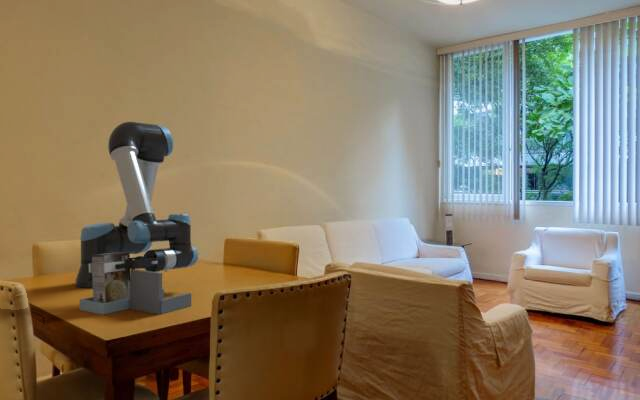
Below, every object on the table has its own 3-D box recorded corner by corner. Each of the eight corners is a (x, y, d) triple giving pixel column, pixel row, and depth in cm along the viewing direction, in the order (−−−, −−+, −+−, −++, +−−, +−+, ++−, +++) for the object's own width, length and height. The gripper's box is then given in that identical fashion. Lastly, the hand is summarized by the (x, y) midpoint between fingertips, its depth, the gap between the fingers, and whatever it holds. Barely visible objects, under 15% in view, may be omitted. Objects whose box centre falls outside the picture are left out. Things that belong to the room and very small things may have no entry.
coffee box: (119, 301, 149) (117, 251, 150) (132, 303, 146) (130, 251, 146) (92, 307, 141) (90, 254, 142) (105, 309, 138) (104, 254, 138)
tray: (79, 309, 141) (79, 299, 141) (118, 301, 153) (118, 291, 153) (103, 314, 136) (103, 304, 135) (141, 305, 147) (141, 295, 147)
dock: (129, 308, 143) (129, 269, 143) (161, 300, 154) (161, 264, 154) (159, 314, 136) (160, 273, 136) (191, 305, 147) (191, 268, 147)
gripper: (179, 271, 154) (118, 281, 135) (140, 271, 164) (78, 280, 145) (178, 248, 155) (117, 255, 135) (139, 249, 165) (77, 255, 145)
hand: (96, 268), depth 140 cm, fingers open, 7 cm apart
